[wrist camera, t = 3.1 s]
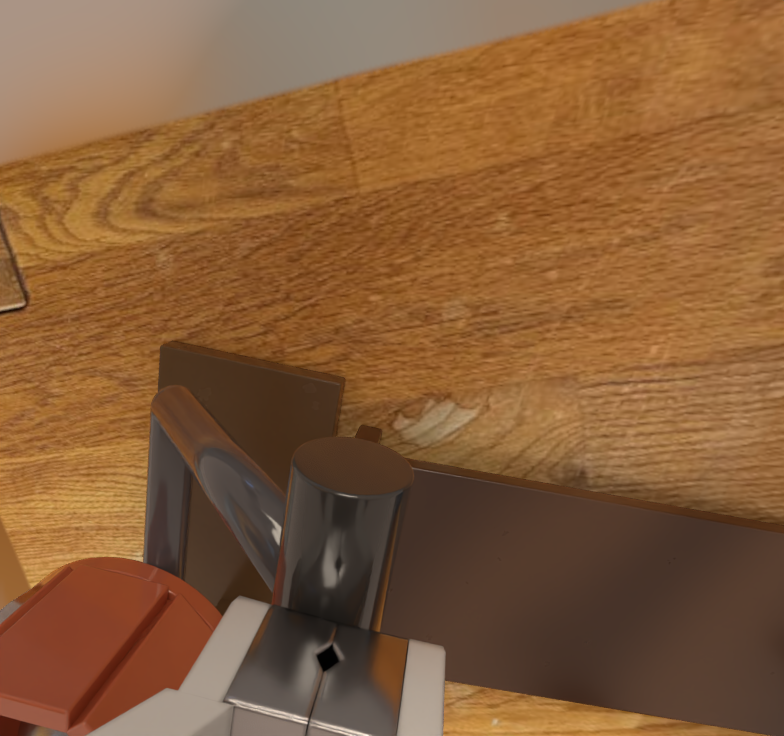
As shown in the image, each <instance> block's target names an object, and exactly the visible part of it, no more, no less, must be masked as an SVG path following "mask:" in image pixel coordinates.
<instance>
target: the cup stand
mask: <svg viewBox="0 0 784 736" xmlns="http://www.w3.org/2000/svg"><path fill="white" fill-rule="evenodd" d="M344 384H345V378H344V377H339V376H335V375H330V374H325V373H321V372H316V371H311V370H307V369H302V368H297V367H293V366H288V365H283V364H279V363H274V362H269V361H265V360H260V359H255V358H250V357H246V356H241V355H236V354H232V353H227V352H222V351H218V350H213V349H208V348H204V347H199V346H194V345H190V344H185V343H180V342H176V341H171V342H168V343H166V344H163V345H161V347H160V363H159V382H158V392H159V391H160V390H161V389H163V388H165V387H167V386H171V385H179V386H184V387H186V388H188V389H190V390H191V391H192V392H193V393H194V394H195V395H196V396H197V397H198V398H199V399H200V401H201V402H202V403H203V404H204V405H205V406H206V407H207V408H208V409H209V411H210V412H211V413H212V414H213V415H214V416H215V417H216V418H217V419H218V421H219V422H220V423H221V424H222V425H223V426H224V427H225V428H226V429H227V431H228V432H229V433H230V434H231V435H232V436H233V437H234V438H235V440H236V441H237V442H238V443H239V444H240V445H241V446H242V447H243V448H244V450H245V451H246V452H247V453H248V454H249V455H250V456H251V457H252V458H253V460H254V461H255V462H256V463H257V464H258V465H259V466H260V467H261V469H262V470H263V471H264V472H265V473H266V474H267V475H268V476H269V477H270V479H271V480H272V481H273V482H274V483H275V484H276V485H277V486H278V487H279V489H280V490H281V491H282V492H283V493H284V494H285V495H286V492H287V485H288V478H289V471H290V463H291V458H292V455H293V453H294V452H295V450H296V449H297V448H298V447H299V446H301V445H302V444H304V443H306V442H308V441H311V440H315V439H319V438H325V437H336V433H337V427H338V421H339V415H340V409H341V403H342V397H343V390H344ZM185 582H186V583H188V584H189V585H191V586H192V587H194V588H195V589H196V590H198V591H199V592H200V593H201V594H202V595H203V596H204V597H206V598H207V599H208V600H209V601H210V602H211V603H212V604H213V605H214V606H215V608H216V609H217V610H218V611H219V612H220V613H221V615H222V616H223V615H224V614H225V612H226V611H227V609H228V607H229V606H230V604H231V602H233V601H234V600H235V599H236V598H237V597H238V596H243V597H247V598H250V599H254V600H257V601H261V602H264V603H268V604H271V601H272V592H271V590H270V589H269V587H268V586H267V584H266V583H265V581H264V580H263V578H262V577H261V575H260V574H259V573H258V571H257V570H256V568H255V567H254V565H253V564H252V562H251V561H250V559H249V558H248V556H247V555H246V553H245V552H244V551H243V549H242V548H241V546H240V545H239V543H238V542H237V540H236V539H235V537H234V536H233V534H232V533H231V531H230V530H229V529H228V527H227V526H226V524H225V523H224V521H223V520H222V518H221V517H220V515H219V514H218V512H217V511H216V509H215V508H214V507H213V505H212V504H211V502H210V501H209V499H208V498H207V496H206V495H205V493H204V492H203V490H202V489H201V487H200V486H199V485H198V483H197V482H196V480H195V479H194V477H193V489H192V501H191V514H190V527H189V539H188V552H187V564H186V577H185Z"/></svg>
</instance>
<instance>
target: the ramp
mask: <svg viewBox="0 0 784 736" xmlns="http://www.w3.org/2000/svg"><path fill="white" fill-rule="evenodd" d="M381 434H382V430H381V429H378V428H373V427H369V426H364V425H361V426H360V428H359V430H358V432H357V434H356V436H355V438H358V439H363V440H367V441H371V442H375V443H378V444H380V440H381ZM405 459H406V460H407V461H408V462H409V464H410V465H411V467H412V469H413V473H414V483H413V487H412V492H411V496H410V501H409V506H408V510H407V515H406V519H405V524H404V529H403V533H402V538H401V543H400V547H399V552H398V556H397V561H396V566H395V570H394V575H393V580H392V584H391V589H390V593H389V598H388V603H387V607H386V612H385V616H384V621H383V626H382V630H381V632H382V633H387V634H391V635H395V636H399V637H403V638H407V640H408V639H414V640H418V641H422V642H427V643H431V644H435V645H440V646H443V647H444V650H445V652H446V656H445V681H451V682H457V683H463V684H468V685H474V686H480V687H486V688H492V689H498V690H504V691H510V692H516V693H522V694H528V695H534V696H540V697H545V698H551V699H557V700H563V701H569V702H575V703H581V704H587V705H593V706H599V707H605V708H611V709H617V710H622V711H628V712H634V713H640V714H646V715H652V716H658V717H664V718H670V719H676V720H682V721H688V722H693V723H699V724H705V725H711V726H717V727H723V728H729V729H735V730H741V731H747V732H753V733H759V734H765V735H770V736H784V526H783V525H778V524H772V523H766V522H761V521H755V520H750V519H744V518H738V517H733V516H727V515H722V514H716V513H710V512H705V511H699V510H694V509H688V508H682V507H677V506H671V505H666V504H660V503H654V502H649V501H643V500H638V499H632V498H626V497H621V496H615V495H610V494H604V493H598V492H593V491H587V490H582V489H576V488H570V487H565V486H559V485H554V484H548V483H542V482H537V481H531V480H526V479H520V478H514V477H509V476H503V475H498V474H492V473H486V472H481V471H475V470H470V469H464V468H458V467H453V466H447V465H442V464H436V463H430V462H425V461H419V460H414V459H408V458H405Z"/></svg>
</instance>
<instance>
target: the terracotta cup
mask: <svg viewBox="0 0 784 736" xmlns="http://www.w3.org/2000/svg"><path fill="white" fill-rule="evenodd" d="M193 477H194V479H195V480H196V482H197V483H198V485H199V486H200V487H201V489H202V490H203V492H204V493H205V495H206V496H207V498H208V499H209V501H210V502H211V504H212V505H213V507H214V508H215V509H216V511H217V512H218V514H219V515H220V517H221V518H222V520H223V521H224V523H225V524H226V526H227V527H228V529H229V530H230V531H231V533H232V534H233V536H234V537H235V539H236V540H237V542H238V543H239V545H240V546H241V548H242V549H243V551H244V552H245V553H246V555H247V556H248V558H249V559H250V561H251V562H252V564H253V565H254V567H255V568H256V570H257V571H258V573H259V574H260V575H261V577H262V578H263V580H264V581H265V583H266V584H267V586H268V587H269V589H270V590H271V592H272V601H271V605H273V604H275V605H278V606H282V607H286V608H289V609H293V610H296V611H300V612H304V613H307V614H311V615H314V616H318V617H322V618H325V619H329V620H332V621H336V622H339V624H340V622H341V623H345V624H349V625H353V626H358V627H362V628H366V629H370V630H374V631H378V632H381V630H382V626H383V621H384V616H385V612H386V607H387V603H388V598H389V593H390V589H391V584H392V580H393V575H394V570H395V566H396V561H397V556H398V552H399V547H400V543H401V538H402V533H403V529H404V524H405V519H406V515H407V510H408V506H409V501H410V496H411V492H412V487H413V483H414V473H413V469H412V467H411V465H410V464H409V462H408V461H407V460H406V459H405V458H404V457H402V456H401V455H400V454H398V453H397V452H395V451H394V450H392V449H390V448H388V447H385V446H383V445H380V444H378V443H375V442H371V441H367V440H363V439H358V438H351V437H325V438H319V439H315V440H311V441H308V442H306V443H304V444H302V445H301V446H299V447H298V448H297V449H296V450H295V452H294V453H293V455H292V458H291V463H290V471H289V478H288V485H287V492H286V495H285V494H284V493H283V492H282V491H281V490H280V489H279V487H278V486H277V485H276V484H275V483H274V482H273V481H272V480H271V479H270V477H269V476H268V475H267V474H266V473H265V472H264V471H263V470H262V469H261V467H260V466H259V465H258V464H257V463H256V462H255V461H254V460H253V458H252V457H251V456H250V455H249V454H248V453H247V452H246V451H245V450H244V448H243V447H242V446H241V445H240V444H239V443H238V442H237V441H236V440H235V438H234V437H233V436H232V435H231V434H230V433H229V432H228V431H227V429H226V428H225V427H224V426H223V425H222V424H221V423H220V422H219V421H218V419H217V418H216V417H215V416H214V415H213V414H212V413H211V412H210V411H209V409H208V408H207V407H206V406H205V405H204V404H203V403H202V402H201V401H200V399H199V398H198V397H197V396H196V395H195V394H194V393H193V392H192V391H191V390H190V389H188V388H186V387H184V386H179V385H171V386H167V387H165V388H163V389H161V390H160V391H159V392H158V393H157V394H156V395H155V396H154V398H153V400H152V403H151V412H150V431H149V451H148V470H147V490H146V509H145V529H144V548H143V562H140V561H136V560H131V559H125V558H116V557H96V558H88V559H83V560H78V561H75V562H72V563H69V564H66V565H64V566H62V567H60V568H58V569H56V570H54V571H53V572H51V573H50V574H49V575H47V576H46V577H45V578H44V579H42V580H41V581H40V582H39V583H38V584H36V585H35V586H34V587H33V588H32V589H30V590H29V591H27V592H26V593H24V594H22V595H21V596H19V597H18V598H16V599H15V600H13V601H11V602H10V603H9V604H7V605H6V606H5V607H4V608H3V609H1V610H0V736H17V734H18V729H19V725H20V722H21V721H23V722H26V723H30V724H34V725H37V726H41V727H45V728H49V729H52V730H56V731H60V732H63V733H67V735H68V736H85V735H87V734H89V733H90V732H92V731H94V730H95V729H97V728H99V727H101V726H102V725H104V724H106V723H107V722H109V721H111V720H112V719H114V718H116V717H118V716H119V715H121V714H123V713H124V712H126V711H128V710H130V709H131V708H133V707H135V706H136V705H138V704H140V703H141V702H143V701H145V700H147V699H148V698H150V697H152V696H153V695H155V694H157V693H158V692H160V691H162V690H164V689H165V688H170V689H174V690H178V689H179V688H180V686H181V684H182V683H183V681H184V679H185V678H186V676H187V675H188V673H189V671H190V670H191V668H192V666H193V665H194V663H195V661H196V660H197V658H198V656H199V655H200V653H201V652H202V650H203V648H204V647H205V645H206V643H207V642H208V640H209V638H210V637H211V635H212V634H213V632H214V630H215V629H216V627H217V625H218V624H219V622H220V620H221V619H222V617H223V616H222V615H221V613H220V612H219V611H218V610H217V609H216V608H215V606H214V605H213V604H212V603H211V602H210V601H209V600H208V599H207V598H206V597H204V596H203V595H202V594H201V593H200V592H199V591H198V590H196V589H195V588H194V587H192V586H191V585H189V584H188V583H186V582H185V577H186V564H187V552H188V539H189V527H190V514H191V501H192V489H193Z"/></svg>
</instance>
